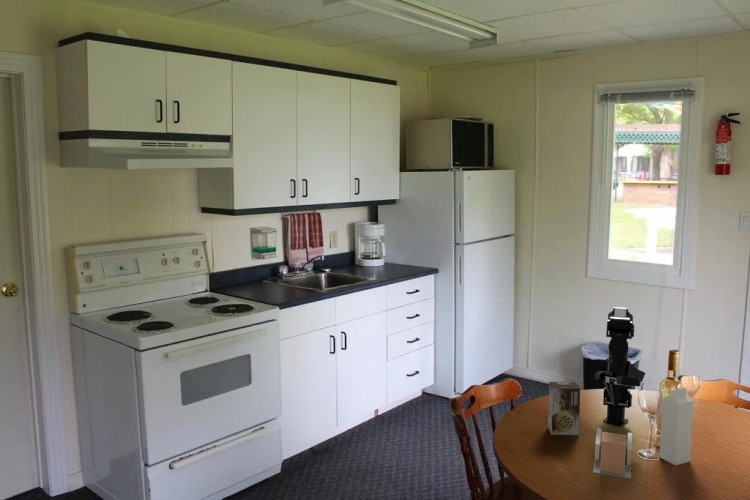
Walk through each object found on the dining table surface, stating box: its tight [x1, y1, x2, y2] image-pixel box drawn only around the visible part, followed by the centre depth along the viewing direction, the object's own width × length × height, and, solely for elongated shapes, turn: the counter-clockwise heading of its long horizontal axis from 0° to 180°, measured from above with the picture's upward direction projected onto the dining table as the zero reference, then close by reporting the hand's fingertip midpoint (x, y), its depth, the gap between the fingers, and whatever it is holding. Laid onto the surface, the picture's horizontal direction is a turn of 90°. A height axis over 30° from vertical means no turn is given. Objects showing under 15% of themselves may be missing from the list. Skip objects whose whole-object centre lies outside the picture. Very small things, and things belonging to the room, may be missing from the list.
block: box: [599, 431, 627, 475], centre depth 182 cm, size 7×6×9 cm
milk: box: [658, 387, 695, 466], centre depth 186 cm, size 6×6×22 cm
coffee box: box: [547, 381, 581, 436], centre depth 207 cm, size 9×6×16 cm
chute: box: [593, 427, 633, 480], centre depth 187 cm, size 20×10×5 cm, turn 158°
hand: (615, 406), depth 199 cm, fingers closed
